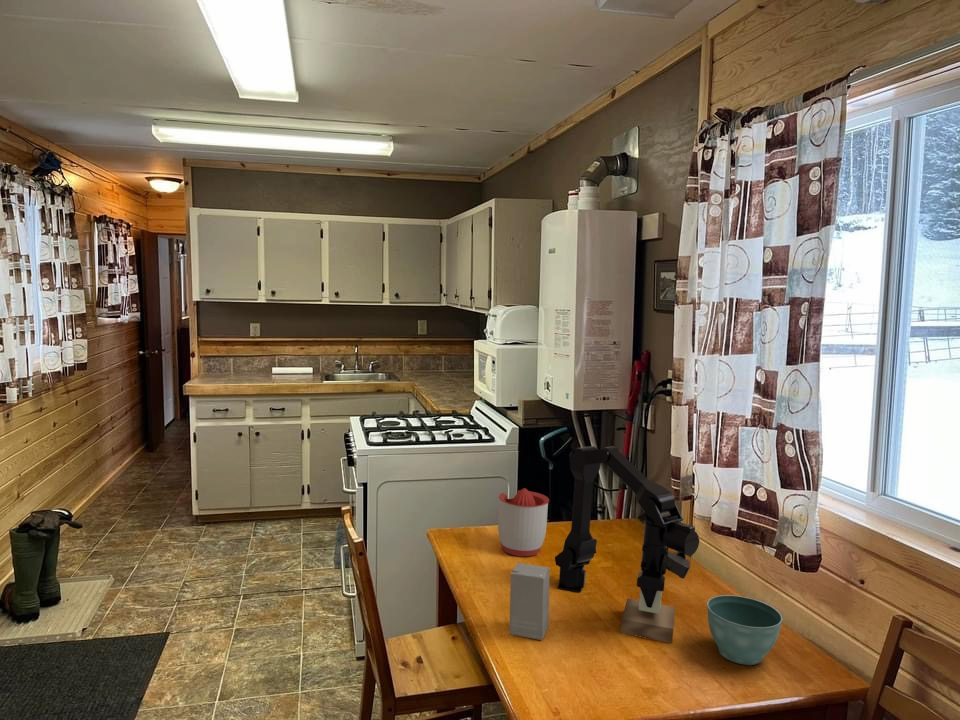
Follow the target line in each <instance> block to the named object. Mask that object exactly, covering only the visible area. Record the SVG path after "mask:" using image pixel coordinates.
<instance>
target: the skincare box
mask: <svg viewBox="0 0 960 720" xmlns="http://www.w3.org/2000/svg"><path fill="white" fill-rule="evenodd" d="M509 588H510V590H509V592H510V593H509V595H510V597H509V599H510V601H509V602H510V603H509V635H511V636H517V637H522V638H528V639H533V640H538V641H543V639H544V637H545V635H546V633H547V631H548V629H549V616H550V615H549V614H550V613H549V612H550V611H549V609H550V567H549V566H541V565H535V564H528V563H522V562H517V563H516V565H515V566H514V568H512V571H511V572H510V587H509Z"/></svg>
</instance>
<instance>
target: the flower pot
mask: <svg viewBox="0 0 960 720" xmlns="http://www.w3.org/2000/svg"><path fill="white" fill-rule="evenodd" d="M706 607H707V621H708V627H709V631H710V633H711V636H712V638H713V640H714V642H715V644H716V646H717V648H718V649H717V650H718V653H719V654H720V656H722V657H723V658H724V659H726V660H727V661H730V662H733V663H736V664H740V665H745V666H752V665H758V664H760V663H762V661H763V658H764V657H765V656H766V655H767V654H768V653H769V652H770V651H771V650H772V648H774V646H775V644H776V642H777V640H778V637H779V634H780V630H781V626H782V624H783V616H782V614H781V613H780V612H779V611H778V610H777V608H775V607H773V606H772V605H770V604H769V603H766V602H763V601H760V600H758V599H756V598H750V597H745V596H741V595H735V594H733V595H730V594H728V595H727V594H726V595H725V594H723V595H716V596H713V597H711V598H709V600H708V601H707V603H706Z"/></svg>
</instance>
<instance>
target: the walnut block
mask: <svg viewBox="0 0 960 720" xmlns="http://www.w3.org/2000/svg"><path fill="white" fill-rule="evenodd" d="M675 615H676V607H675V606H671V605H664V604H661V607H660V614H657V613H652V612H647V611H641V610H639V599H633V598H626V601H625V605H624V609H623V614H622V617H621V627H620V628H621V629H620V634H623V633H625V634H624V635H628V634H631V635H630V636H633V635H637V636H636V637H638V636H641V637H640V638H643V637H646V638H645V639H648V638H651V639H650V640H652V639H655V640H654V641H657V640H659V641H658V642H662V641H663V643H667V642H668V644H673V639H674V638H673V637H674V630H675V619H676V618H675Z"/></svg>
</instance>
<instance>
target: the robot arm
mask: <svg viewBox="0 0 960 720" xmlns="http://www.w3.org/2000/svg"><path fill="white" fill-rule="evenodd" d="M602 463H603V464H605V465H606V466H607V468H609V469H610V470H611V471H612V472H613V474H615V476H617V477H618V478H619V479H620V480H621V481H622V483H624V484H625V485H626V486H627V487H628V488H629V489H630V490H631V492H632V493H634V495H635V497H636V501H637V504H638V505H639V506H640V508H641V509H642V510H643V512H642V513H641V514H640V515H638V516H637V519H638V520H640V521H643V522H644V528H643V529H644V530H643V539H642V541H643V542H642V547H641V548H642V549H641V551H642V553H641V562H640V570H641V571H639V572H638V574H637V577H636V587H638V588H640V589H641V591H642V594H643V597H644V600H645V603H646V606H647V607H649V608H652V605H653V602H654V599H655V596H656V593H657V591H662V592H664V590H665V583H666V576H664V575H665V574H666V573H667V571H669V572H671V573H672V574H674V575H676V576H678V577H679V578H680V579H685V578H686V576H687V574H688V572H689V571H690V569H691V562H690V560H689V559H687V558H686V557H688V556H689V557H690V556H693V555H694V554H695V553H696V552H697V550H698V548H699V546H700V538H699V534H698V533H697V531H696V527H695V525H691V524H687V523H684V521H683V520H684V518H683V516H682V514H681V511H680V509H679V507H678V505H677V503H676V499H675V495H674V494H673V492H671V491H670V490H668V489H667V488H665V487H664V486H663V485H661V484H659V483H656V482H653V481H652V480H651V479H649V478H648V477H647V476H646V475H645V474H643V472H641V470H639V469H638V468H637V467H636V465H634V464H633V463H632V462H631V461H630V460H629V459H628V458H627V457H626V456H625V455H623V453H622V452H621V451H620V449H619V448H618V447H616V446H613V445H611V446H605V447H602V448H598V447H596V446H594V445H591V446H583V447H576V448H574V449H573V450H571V451H570V454H569V469H570V471H571V473H572V476H573V478H574V487H573V500H572V515H571V529H570V531H569V532H568V534H567V536H566V538H564V544H563V548H562V551H561V552H559V553H558V554H557V555H555V556H554V562H555V565H556V566H558V567H559V577H558V584H557V586H556V587H557V589H559V590H564V591H565V590H566V591H571V592H574V593H575V592H576V593H581V592H582V590H583V589H584V587H585V585H586V576H587V574H586V573H587V570H586V569H585V566H587V565H590V562H591V561H592V559H594V557H595V554H597V542H598V541H597V538H594V537H593V536H592V534H591V531H590V529H591V515H592V503H593V502H592V501H593V492H594V491H593V490H594V489H593V488H594V481H595V478H596V477H597V475H598V473H599V472H600V469H601V465H602ZM667 514H670V515H667ZM663 515H667V516H663ZM669 549H671V550H674V551H670V550H669ZM675 551H676V552H675ZM640 589H639V590H640Z"/></svg>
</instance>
